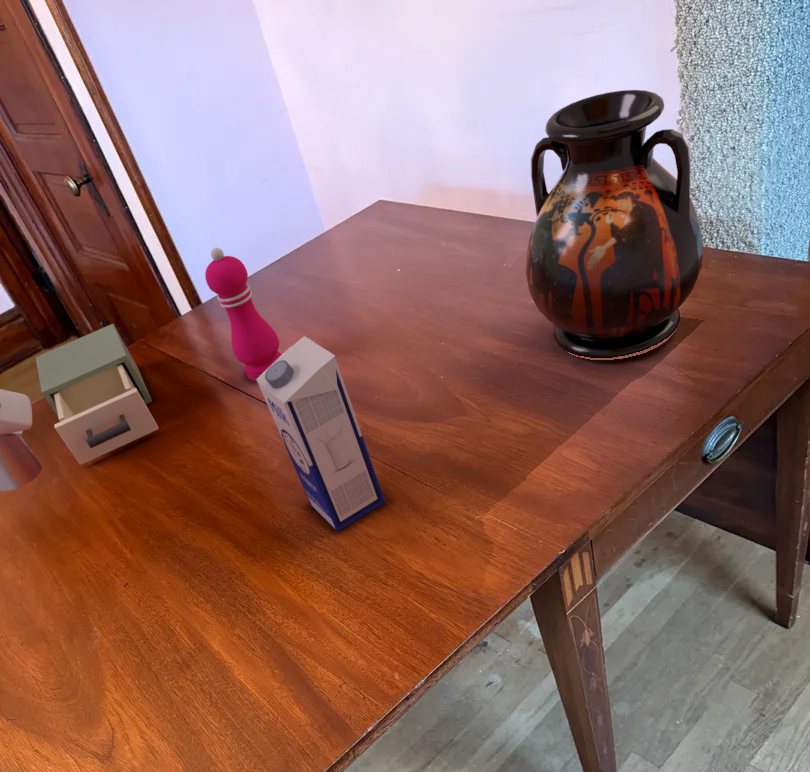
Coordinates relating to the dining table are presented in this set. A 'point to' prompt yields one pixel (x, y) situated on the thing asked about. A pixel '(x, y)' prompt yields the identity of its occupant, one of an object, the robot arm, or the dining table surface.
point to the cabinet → (86, 363)
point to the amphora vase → (612, 228)
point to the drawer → (101, 414)
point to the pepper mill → (242, 314)
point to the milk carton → (321, 433)
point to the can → (16, 463)
